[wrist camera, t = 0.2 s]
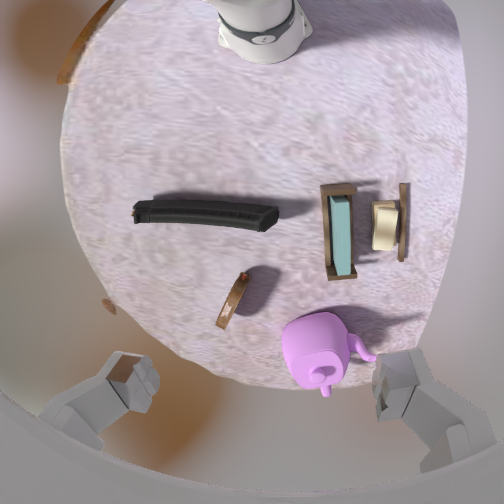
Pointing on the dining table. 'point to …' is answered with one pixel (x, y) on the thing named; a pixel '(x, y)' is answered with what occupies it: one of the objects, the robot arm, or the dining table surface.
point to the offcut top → (384, 229)
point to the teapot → (320, 350)
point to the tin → (232, 300)
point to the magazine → (206, 213)
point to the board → (341, 234)
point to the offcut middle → (383, 205)
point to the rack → (348, 191)
